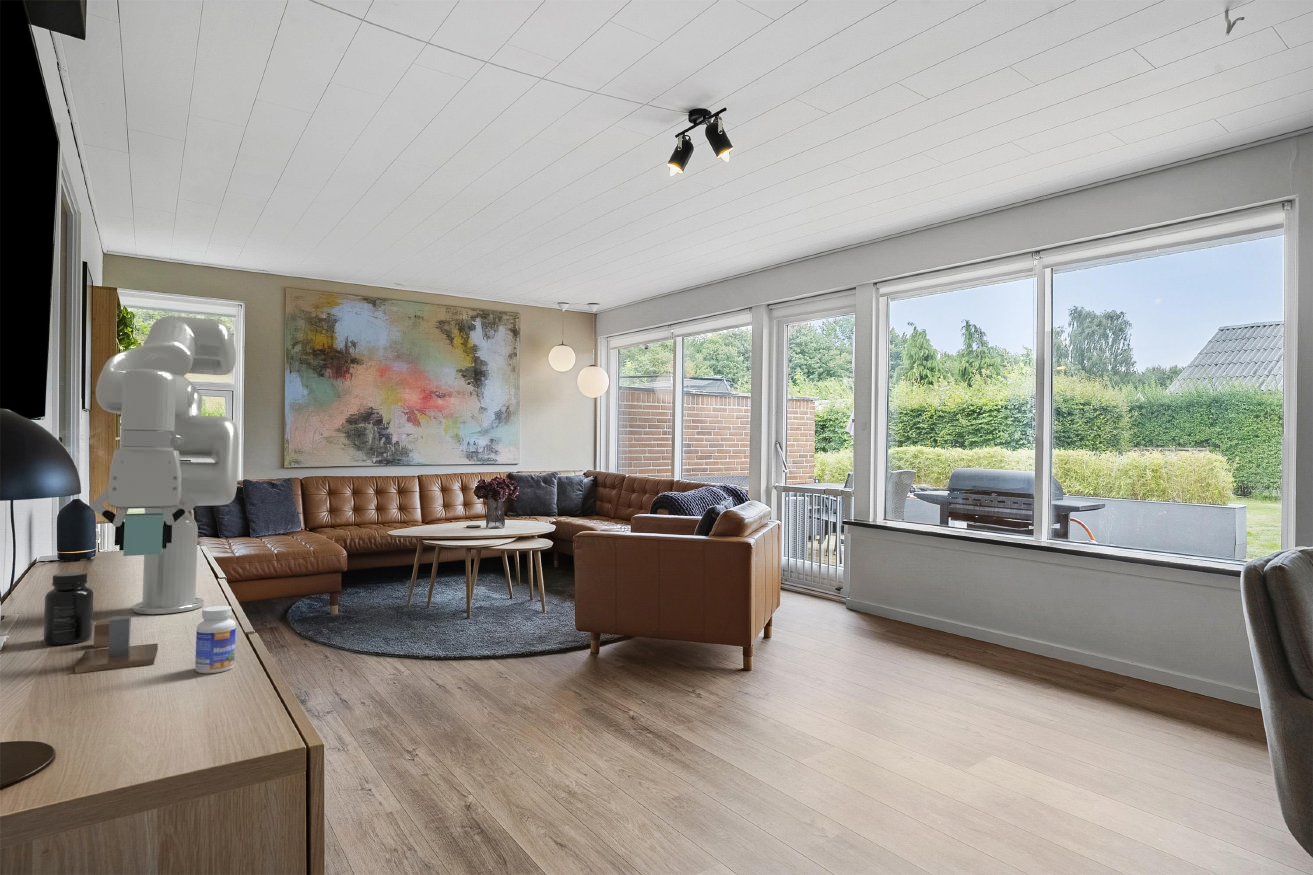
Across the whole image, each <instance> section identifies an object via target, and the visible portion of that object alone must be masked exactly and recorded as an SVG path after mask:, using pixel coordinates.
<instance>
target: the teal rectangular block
mask: <svg viewBox="0 0 1313 875" xmlns="http://www.w3.org/2000/svg"><path fill="white" fill-rule="evenodd" d="M124 522H125V525H124V550H123V555H122V556H123V557H130V556H144V555H155V554H162V551H163V548H162V536H163V525H164V516H163V513H145V512H143V513H139V512H138V513H127V514H126V515H125V519H124Z"/></svg>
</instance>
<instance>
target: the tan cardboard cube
mask: <svg viewBox="0 0 1313 875" xmlns="http://www.w3.org/2000/svg"><path fill="white" fill-rule="evenodd" d="M109 623H110V619H107V620H106V619H105V620H97V621H96V622H95V624H94V625H93V626H94V627H93V628H94V629H93V631H94V632H93V633H94V634H93V649H100V648H109Z"/></svg>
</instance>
